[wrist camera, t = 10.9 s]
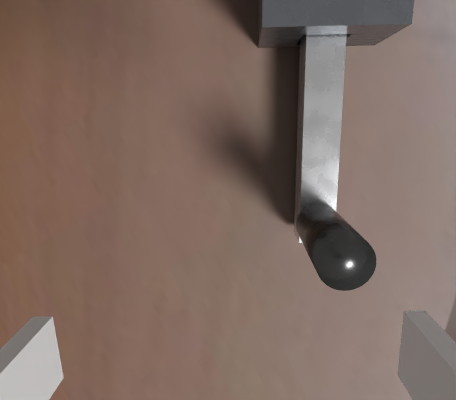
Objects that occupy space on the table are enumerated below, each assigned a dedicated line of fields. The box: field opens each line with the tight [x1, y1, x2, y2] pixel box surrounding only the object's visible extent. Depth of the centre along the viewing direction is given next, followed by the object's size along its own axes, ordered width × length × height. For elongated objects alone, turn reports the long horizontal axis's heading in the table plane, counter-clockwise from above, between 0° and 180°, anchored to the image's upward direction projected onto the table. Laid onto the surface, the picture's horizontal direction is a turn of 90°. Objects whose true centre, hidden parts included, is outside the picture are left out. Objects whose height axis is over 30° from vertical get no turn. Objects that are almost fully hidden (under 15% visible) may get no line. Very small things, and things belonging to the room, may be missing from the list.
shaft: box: [294, 34, 376, 291], centre depth 30 cm, size 26×4×14 cm, turn 1°
